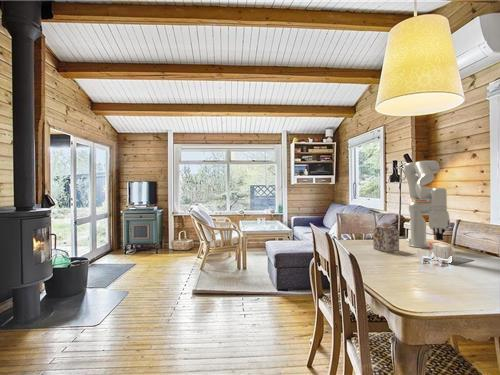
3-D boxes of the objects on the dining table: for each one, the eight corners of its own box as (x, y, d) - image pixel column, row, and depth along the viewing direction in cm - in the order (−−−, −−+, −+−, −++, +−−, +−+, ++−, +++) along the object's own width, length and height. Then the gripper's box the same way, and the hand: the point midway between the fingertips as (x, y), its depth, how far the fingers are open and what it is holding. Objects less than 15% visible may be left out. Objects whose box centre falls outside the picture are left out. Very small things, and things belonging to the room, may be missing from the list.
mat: (428, 259, 168) (428, 258, 168) (447, 255, 178) (447, 254, 178) (454, 265, 156) (454, 264, 156) (474, 260, 165) (474, 259, 165)
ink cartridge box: (428, 242, 173) (446, 247, 159) (436, 241, 174) (454, 246, 159) (430, 257, 173) (447, 263, 159) (438, 256, 173) (456, 262, 159)
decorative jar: (385, 247, 204) (385, 221, 204) (399, 250, 194) (399, 223, 194) (372, 249, 199) (372, 222, 199) (386, 252, 189) (386, 224, 189)
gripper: (422, 208, 177) (423, 238, 177) (448, 209, 164) (449, 242, 164) (430, 207, 181) (430, 237, 180) (456, 209, 167) (457, 241, 167)
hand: (439, 239), depth 172 cm, fingers closed
